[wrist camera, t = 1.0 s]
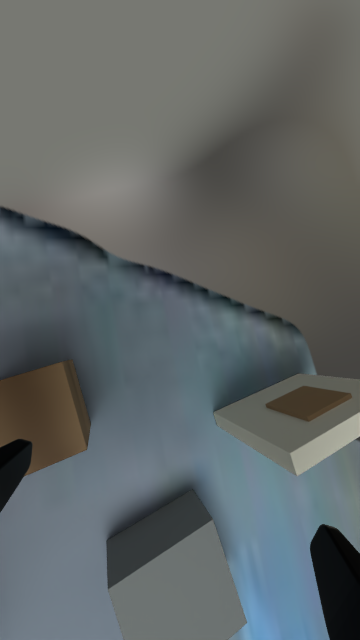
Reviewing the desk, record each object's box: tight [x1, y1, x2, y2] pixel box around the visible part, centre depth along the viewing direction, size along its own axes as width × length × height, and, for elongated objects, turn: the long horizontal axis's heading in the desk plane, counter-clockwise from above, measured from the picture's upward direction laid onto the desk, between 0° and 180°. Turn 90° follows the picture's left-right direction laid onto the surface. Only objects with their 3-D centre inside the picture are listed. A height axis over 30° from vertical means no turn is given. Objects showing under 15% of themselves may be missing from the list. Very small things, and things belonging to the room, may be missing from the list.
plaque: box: [213, 373, 360, 476], centre depth 18 cm, size 10×2×9 cm, turn 107°
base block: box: [106, 489, 247, 640], centre depth 17 cm, size 7×7×4 cm
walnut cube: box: [0, 359, 91, 476], centre depth 15 cm, size 5×5×5 cm
